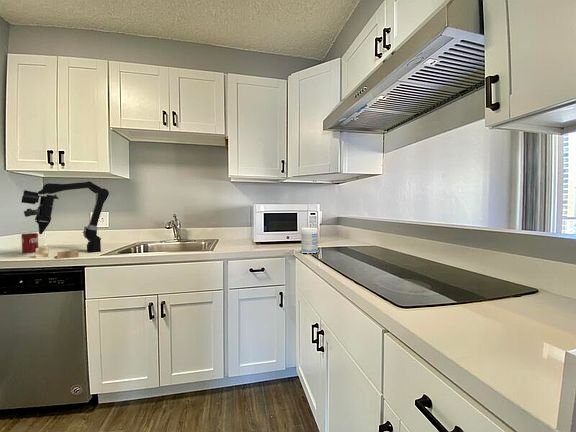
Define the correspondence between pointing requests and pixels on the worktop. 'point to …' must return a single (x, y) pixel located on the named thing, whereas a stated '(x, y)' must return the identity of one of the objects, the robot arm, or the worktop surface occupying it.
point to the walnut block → (68, 254)
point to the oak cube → (42, 252)
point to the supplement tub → (309, 240)
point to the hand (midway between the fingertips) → (40, 233)
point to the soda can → (29, 243)
